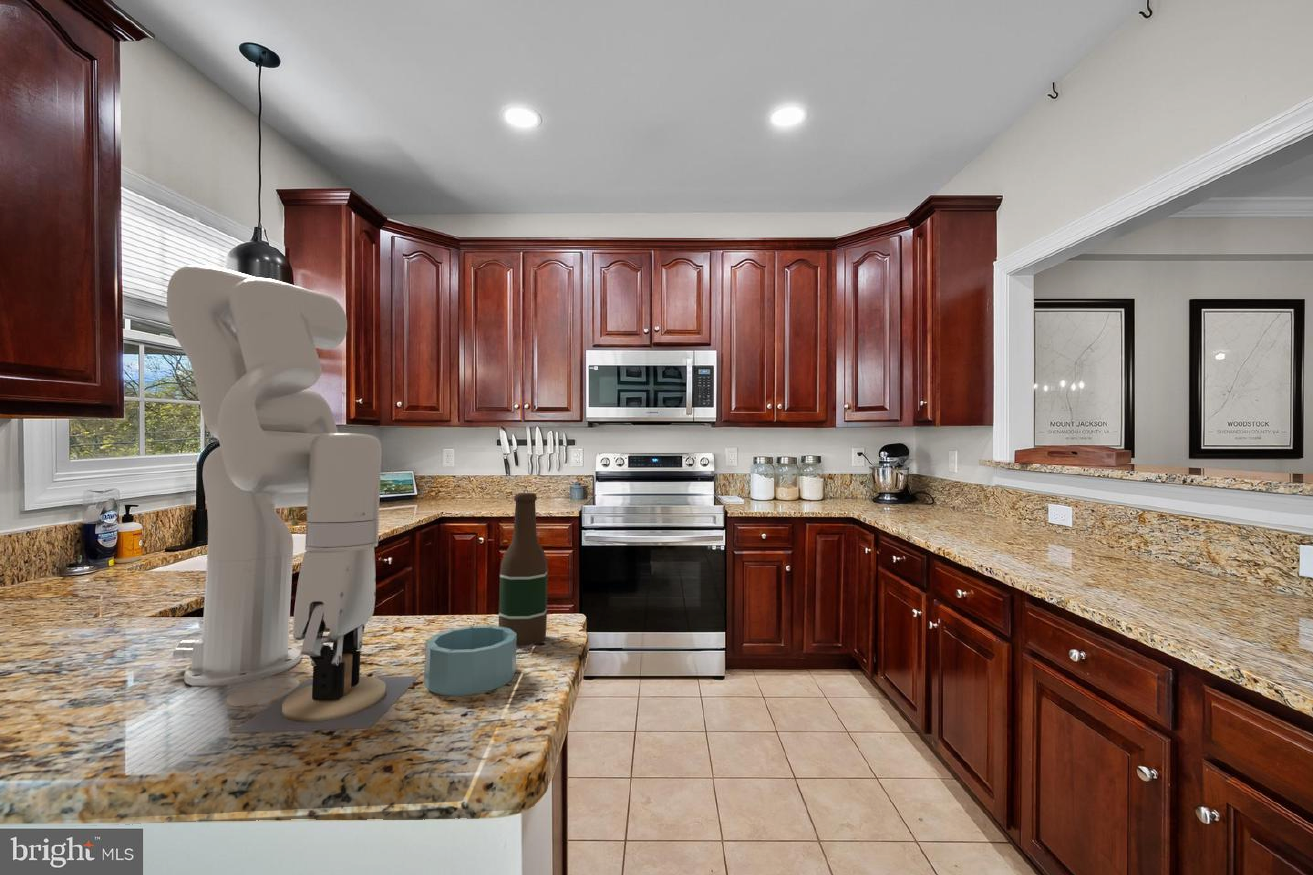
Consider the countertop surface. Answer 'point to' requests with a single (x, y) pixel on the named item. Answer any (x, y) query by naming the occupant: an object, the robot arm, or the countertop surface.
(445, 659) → the bowl
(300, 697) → the lid
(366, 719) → the mat
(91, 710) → the countertop surface
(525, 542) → the beer bottle
